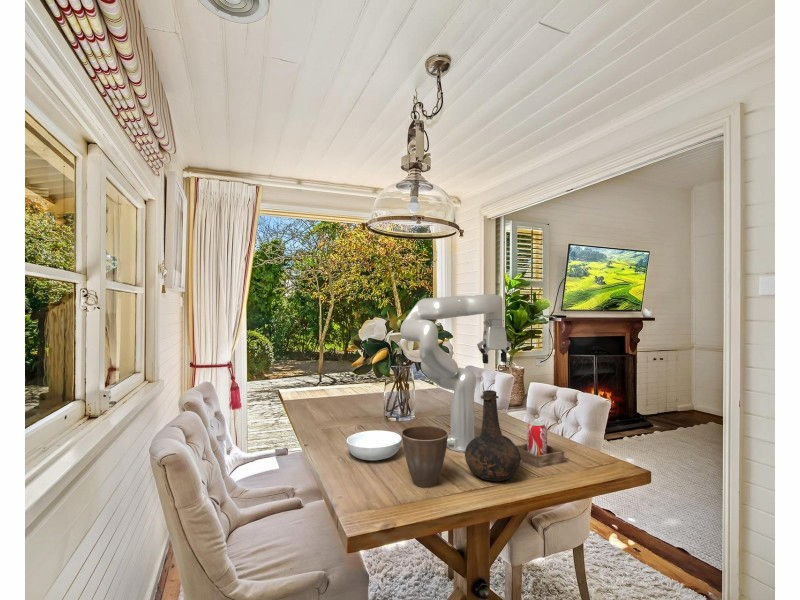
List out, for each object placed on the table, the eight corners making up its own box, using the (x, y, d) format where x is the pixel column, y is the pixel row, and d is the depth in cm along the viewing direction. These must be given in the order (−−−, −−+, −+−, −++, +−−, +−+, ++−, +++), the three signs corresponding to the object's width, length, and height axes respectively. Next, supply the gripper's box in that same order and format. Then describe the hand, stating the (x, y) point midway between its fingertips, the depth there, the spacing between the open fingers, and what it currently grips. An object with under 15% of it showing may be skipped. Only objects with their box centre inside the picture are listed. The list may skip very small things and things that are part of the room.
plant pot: (458, 485, 123) (458, 434, 124) (419, 498, 115) (419, 443, 116) (429, 470, 136) (429, 423, 136) (393, 480, 128) (392, 430, 128)
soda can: (538, 460, 141) (537, 426, 142) (523, 454, 148) (522, 422, 148) (551, 456, 145) (551, 423, 145) (536, 450, 151) (535, 419, 151)
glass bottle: (532, 479, 128) (530, 392, 129) (492, 492, 118) (491, 399, 119) (492, 461, 143) (491, 384, 144) (454, 472, 134) (453, 389, 135)
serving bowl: (376, 443, 164) (376, 426, 164) (413, 456, 149) (412, 438, 149) (335, 456, 149) (335, 438, 150) (371, 472, 135) (371, 451, 135)
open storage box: (536, 468, 137) (536, 457, 137) (510, 454, 150) (510, 445, 150) (567, 461, 142) (566, 452, 143) (539, 449, 155) (539, 440, 155)
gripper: (482, 324, 166) (483, 364, 166) (515, 323, 173) (516, 362, 172) (472, 323, 173) (473, 362, 172) (504, 323, 180) (505, 360, 179)
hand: (494, 362), depth 172 cm, fingers open, 9 cm apart
